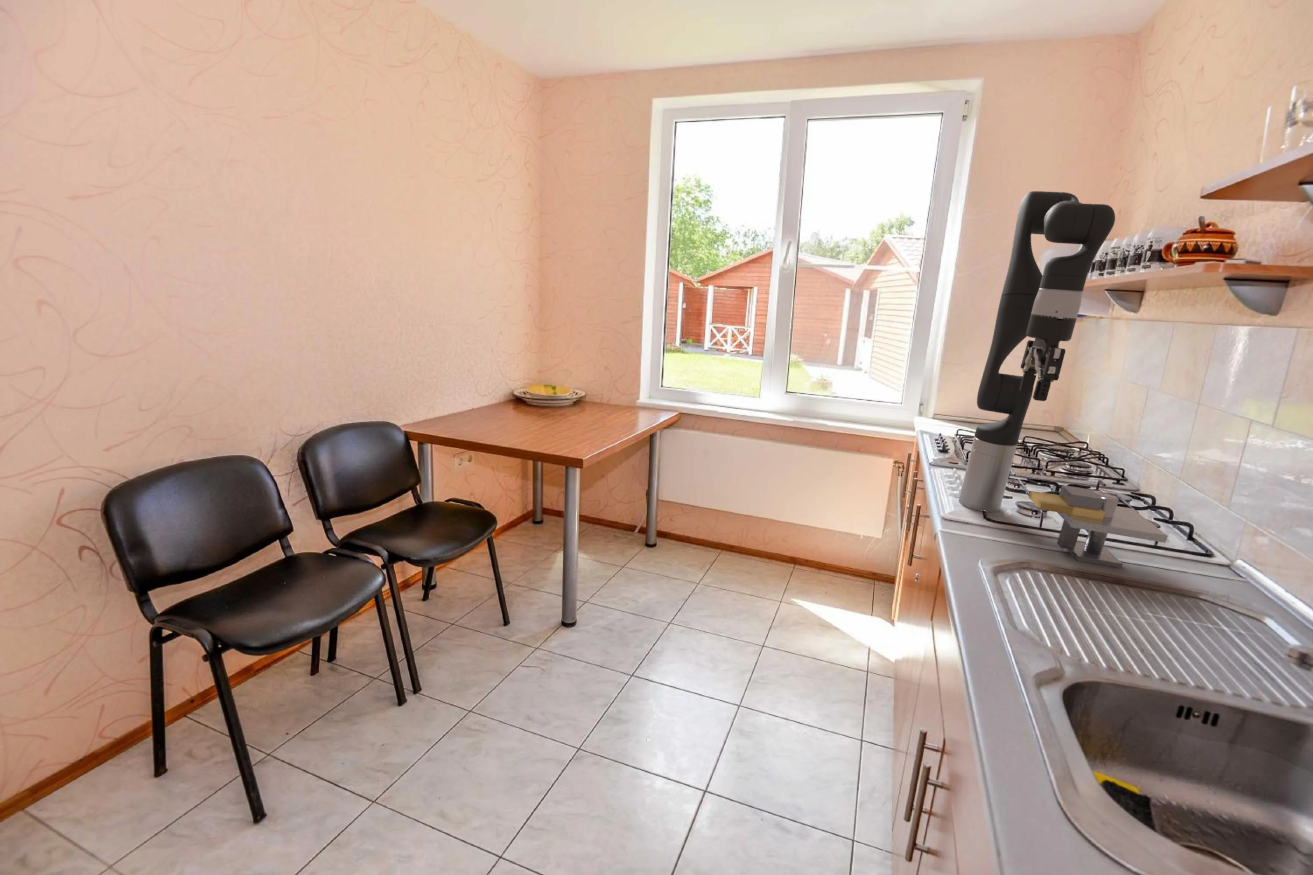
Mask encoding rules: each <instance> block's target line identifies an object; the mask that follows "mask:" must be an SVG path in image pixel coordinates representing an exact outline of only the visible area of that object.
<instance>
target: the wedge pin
mask: <svg viewBox="0 0 1313 875" xmlns="http://www.w3.org/2000/svg"><path fill="white" fill-rule="evenodd" d="M1058 495H1059V497H1060V498H1061V499H1062V500H1063V501H1064V502H1065V503H1066V504H1067V505H1068V506H1073V507H1080V508H1086V509H1092V510H1098V511H1100V509H1101V506H1102V503H1103V498H1101V497H1100V496H1101V495H1099V494H1098V493H1097V492H1096V491H1094V490H1093V489H1089V488H1082V487H1077V486H1070V485H1064V484H1063V485H1061V488H1060V491H1059V493H1058ZM1080 531H1081V529H1079V528H1073V527H1071V526H1070V525H1069V524H1068V523H1067V522H1066V521H1065V520H1064V519H1063V522H1062V525H1061V529H1060V533H1059V535H1058V539H1057V542H1056V544H1057V545H1058V547H1060V548H1061V549H1063V550H1067V549H1070V550H1074V548H1075V545H1076V542H1078V537H1079V535H1080Z"/></svg>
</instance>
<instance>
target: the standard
mask: <svg viewBox="0 0 1313 875" xmlns="http://www.w3.org/2000/svg"><path fill="white" fill-rule="evenodd" d="M1099 496H1100V497H1101V498H1103V503H1102V506H1101V510H1102V511H1104V512H1105V514H1104V517H1103V519H1097V518H1090V517H1084V516H1078V515H1072V514H1066V513H1059V512H1056V513H1057V514H1058V515H1059V516H1060V518H1062V519H1063V521H1064V520H1065V521H1066V522H1067V523H1068V524H1069V525H1070V526H1071V527H1073V528H1079V529H1080V530H1084V531H1085V530H1086V531H1088V535H1087V538H1086V540H1085V542H1079V541H1077V542H1076V545H1075V548H1074V550H1070V549H1066V550H1067V551H1068V552H1069V553H1070V555H1071V556H1073V558H1074V559H1075V561H1079V562H1084V563H1088V564H1095V565H1101V566H1105V567H1106V566H1107V567H1111V568H1118V569H1122V568H1123V565H1124V564H1123V562H1121V561H1120V559H1119V558H1117V556H1115V554H1114V553H1112V551H1110V550H1109V549H1108V548H1107V547H1106V546H1104V545H1105V543H1106V540H1107V536H1108V534H1110V535H1115V536H1121V537H1127V538H1135V539H1140V540H1147V541H1152V542H1157V543H1158V542H1159V543H1164V544H1165V543H1167V540H1168V537H1169V535H1168V534H1166V532H1163V531H1162V530H1161V529H1160V528H1158V526H1156V525H1155V524H1153V523H1152V522H1150V520H1149V519H1147V518H1146V517H1144V516H1143V515H1141V514H1140V513H1139V512H1138V511H1136V510H1135V509H1134V508H1131V507H1126V506H1125V507H1124V506H1118V504H1119V499H1117V498H1115V497H1112V496H1108V495H1099Z"/></svg>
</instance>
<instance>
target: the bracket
mask: <svg viewBox="0 0 1313 875" xmlns="http://www.w3.org/2000/svg"><path fill="white" fill-rule="evenodd" d="M1028 498H1029V499H1030V501H1031V502H1032V503H1033V504H1034V505H1035V506H1036V507H1037V508H1038V510H1040V511H1041V510H1042V511H1043V510H1044V511H1048V512H1053V513H1057V512H1059V513H1066V514H1072V515H1078V516H1084V517H1090V518H1097V519H1103V517H1104V514H1105V512H1104V511H1102V510H1101V509H1100V511H1098V510H1092V509H1086V508H1080V507H1073V506H1068V505H1067V504H1066V503H1065V502H1064V501H1063V500H1062V499H1061V498H1060V497H1059V494H1054V493H1048V492H1047V493H1046V492H1041V491H1035V490H1030V492H1029V495H1028Z"/></svg>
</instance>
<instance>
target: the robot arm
mask: <svg viewBox="0 0 1313 875" xmlns="http://www.w3.org/2000/svg"><path fill="white" fill-rule="evenodd" d="M1115 221H1116V213H1115V211H1114V209H1113V207H1112V206H1111V205H1109V204H1105V203H1104V204H1103V203H1083V202H1080V201H1079V199H1078V197H1077V196H1076V195H1075V194H1073V193H1071V192H1065V191H1060V192H1059V191H1042V190H1039V191H1038V190H1035V191H1034V190H1033V191H1028V192H1027V193H1026V194H1025V195H1024V196H1023V198H1022V201H1020V205H1019V208H1018V213H1017V218H1016V223H1015V227H1014V228H1015V230H1014V236H1013V241H1012V248H1011V254H1010V255H1011V256H1010V260H1009V264H1008V269H1007V273H1006V276H1005V280H1004V284H1003V287H1002V288H1003V289H1002V292H1001V296H1000V300H999V303H998V309H997V314H996V319H995V325H994V328H993V329H994V330H993V335H992V340H991V344H990V348H989V351H988V356H987V360H986V363H985V365H984V369H983V373H982V376H981V380H980V382H979V383H980V384H979V387H978V390H977V395H976V396H977V397H976V406H977V408H978V409H979V410H982V411H987V412H994V413H998V414H1005V415H1007V417H1005V418H1004V419H1001V420H998V421H993V422H987V423H981V424H979V425H978V426H977V427H976V429H975V432H974V435H973V436H974V437H973V440H972V444H971V449H970V453H969V456H968V457H969V458H968V461H967V464H966V469H965V474H964V477H963V482H962V485H961V489H960V494H959V497H958V503H960V505H962V506H964V507H966V508H968V509H972V510H974V511H977V510H978V512H982V511H981V510H986V511H987V512H986V513H993V514H994V513H999V511H1000V510H1001V507H1002V503H1003V498H1004V495H1005V492H1006V488H1007V485H1008V484H1007V483H1008V480H1009V477H1010V473H1011V469H1012V465H1013V461H1014V457H1015V453H1016V450H1017V446H1018V443H1019V439H1020V435H1021V432H1022V427H1023V424H1024V421H1025V417H1026V414H1027V411H1028V409H1029V406H1030V403H1031V400H1032V399H1033V400H1034V401H1039V402H1045V401H1047V399H1048V395H1049V393H1050V392H1049V391H1050V389H1051V385H1052V383H1053V382H1055V381H1056V382H1057V381H1058V380H1059V379H1060V373H1061V370H1062V365H1063V363H1064V362H1063V361H1064V358H1065V355H1066V349H1065V348H1060V347H1059V346H1060V342H1069V341H1071V339H1072V337H1073V332H1074V330H1075V326H1076V322H1077V319H1078V315H1079V312H1080V308H1081V305H1082V304H1081V303H1082V296H1083V292H1084V289H1085V285H1086V282H1087V281H1086V280H1087V277H1088V273H1089V271H1090V268H1091V266H1092V264H1093V261H1094V260H1095V258H1096V257H1097V254H1098V253H1099V250H1100V249H1101V247H1102V246H1103V244H1104V242H1106V240H1107V238H1108V236H1109V235H1110V234H1111V231H1112V230H1113V227H1114V225H1115ZM1032 235H1043V236H1044V238H1045V240H1046V241H1047V242H1050V243H1054V244H1069V245H1071V244H1072V245H1082V246H1081V248H1080V249H1079V250H1078V251H1077V252H1075V253H1074V254H1071V255H1066V256H1065V255H1063V256H1056V257H1052V258H1049V259H1048V260H1047V262H1046V263H1045V265H1044V268H1043V271H1042V272H1043V273H1042V272H1041V269H1040V268H1039V266H1038V264H1037V261H1036V260H1035V256H1034V253H1033V248H1032ZM1027 337H1028V338H1031V339H1034V340H1031V339H1030V340H1027V342H1026V346H1025V351H1024V354H1023V357H1022V360H1021V363H1020V364H1021V365H1020V369H1021V370H1022V373H1023V375H1015V374H1010V373H1009V374H1007V373H1001V372H1000V370H1001V367H1002V365H1003V363H1004V362H1005V360H1006V359H1007V357H1008V356H1009V355H1010V354H1011V353H1012V351H1014V350H1015V348H1016V347H1017V346H1019V344H1020V343H1022V341H1024V340H1025V339H1026V338H1027ZM1036 379H1037V380H1036ZM1035 382H1036V384H1035ZM1034 387H1035V388H1034Z"/></svg>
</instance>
